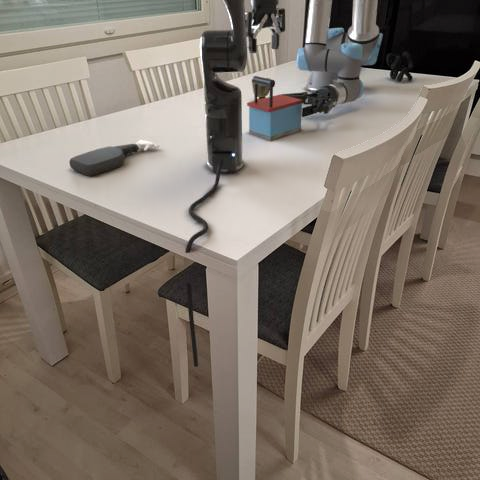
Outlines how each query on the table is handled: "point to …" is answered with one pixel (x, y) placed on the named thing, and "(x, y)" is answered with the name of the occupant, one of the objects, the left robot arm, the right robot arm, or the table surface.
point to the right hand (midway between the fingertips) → (286, 108)
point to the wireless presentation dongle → (106, 157)
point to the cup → (262, 91)
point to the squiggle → (399, 66)
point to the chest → (275, 122)
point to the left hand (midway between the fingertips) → (264, 50)
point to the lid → (272, 101)
